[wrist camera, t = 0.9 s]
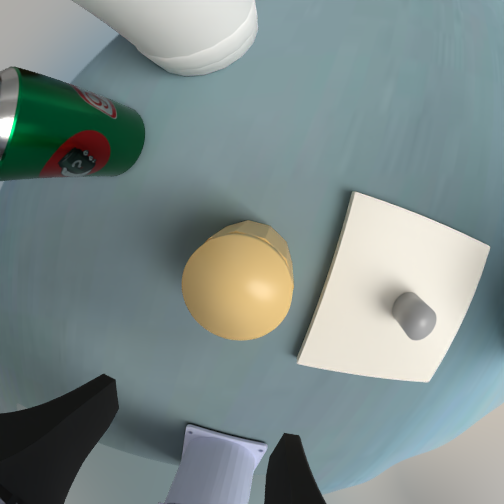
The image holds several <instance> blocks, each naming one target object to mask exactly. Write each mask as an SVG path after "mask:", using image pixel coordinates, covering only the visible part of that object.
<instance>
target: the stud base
mask: <svg viewBox="0 0 504 504" xmlns="http://www.w3.org/2000/svg"><path fill="white" fill-rule="evenodd" d="M489 250H490V246H488V245H486V244H484V243H482V242H480V241H478V240H476V239H474V238H472V237H470V236H467V235H465V234H463V233H461V232H459V231H457V230H454V229H452V228H450V227H448V226H445V225H443V224H441V223H438V222H436V221H433V220H431V219H429V218H426V217H424V216H421V215H419V214H416V213H414V212H411V211H409V210H406V209H403V208H401V207H398V206H395V205H393V204H390V203H387V202H384V201H382V200H379V199H376V198H373V197H370V196H367V195H364V194H361V193H358V192H354V191H352V194H351V198H350V202H349V205H348V209H347V213H346V216H345V220H344V223H343V227H342V230H341V234H340V237H339V240H338V244H337V247H336V250H335V253H334V256H333V260H332V263H331V266H330V269H329V272H328V275H327V278H326V281H325V284H324V287H323V290H322V293H321V295H320V298H319V301H318V304H317V307H316V309H315V312H314V315H313V318H312V320H311V323H310V326H309V328H308V331H307V333H306V336H305V338H304V341H303V344H302V346H301V349H300V351H299V353H298V356H297V364H301V365H305V366H310V367H315V368H321V369H326V370H332V371H337V372H343V373H350V374H356V375H363V376H370V377H378V378H386V379H395V380H405V381H417V382H429V381H430V379H431V378H432V376H433V374H434V373H435V371H436V369H437V368H438V366H439V364H440V363H441V361H442V359H443V358H444V356H445V354H446V352H447V350H448V349H449V347H450V345H451V343H452V341H453V339H454V337H455V335H456V333H457V331H458V329H459V327H460V325H461V323H462V321H463V319H464V317H465V314H466V312H467V310H468V308H469V305H470V303H471V300H472V298H473V296H474V293H475V291H476V288H477V285H478V283H479V280H480V277H481V274H482V271H483V269H484V266H485V263H486V259H487V256H488V253H489Z"/></svg>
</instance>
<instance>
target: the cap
mask: <svg viewBox="0 0 504 504" xmlns="http://www.w3.org/2000/svg"><path fill="white" fill-rule="evenodd" d="M293 288H294V281H293V268H292V261H291V257H290V253H289V249H288V246H287V242H286V241H285V240H284V239H283V238H282V237H281V236H280V235H279V234H278V233H277V232H276V231H275V230H274V229H273V228H272V227H271V226H269V225H265V224H261V223H257V222H253V221H249V220H247V221H243V222H240V223H236V224H233V225H229V226H226V227H225V228H223V229H222V230H220V231H219V232H217V233H216V234H214V235H213V236H211V237H210V238H208V239H207V241H206V242H205V243H204V244H203V245H202V246H201V247H199V248H198V249H197V250H196V251H195V252H194V253H193V254H192V256H191V257H190V258H189V260H188V262H187V264H186V266H185V268H184V272H183V276H182V293H183V298H184V301H185V304H186V306H187V308H188V310H189V311H190V313H191V315H192V316H193V317H194V319H195V320H196V321H197V322H198V323H199V324H200V325H201V326H203V327H204V328H205V329H206V330H208V331H210V332H211V333H213V334H215V335H217V336H220V337H223V338H226V339H231V340H251V339H255V338H258V337H261V336H264V335H266V334H267V333H269V332H271V331H272V330H274V329H275V328H276V327H277V326H278V325H279V324H280V323H281V322H282V321H283V319H284V318H285V316H286V314H287V313H288V310H289V308H290V304H291V300H292V291H293Z"/></svg>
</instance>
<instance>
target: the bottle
mask: <svg viewBox="0 0 504 504" xmlns="http://www.w3.org/2000/svg"><path fill="white" fill-rule="evenodd" d="M72 1H74V2H75V3H77V4H78V5H80V6H81V7H83V8H84V9H86V10H87V11H89V12H90V13H92V14H93V15H95V16H96V17H97V18H99V19H100V20H102V21H103V22H104V23H106V24H107V25H108V26H110V27H111V28H112V29H114V30H115V31H116V32H118V33H119V34H120V35H122V36H123V37H124V38H126V39H127V40H128V41H129V42H131V43H132V44H133V45H135V46H136V48H137V50H138V51H140V52H141V53H142V54H143V55H144V56H146V57H147V58H149V59H150V60H151V61H153V62H154V63H156V64H157V65H158V66H160V67H162V68H163V69H165V70H166V71H167V72H169V73H173V74H177V75H182V76H195V75H206V74H208V73H211V72H214V71H217V70H220V69H223V68H225V67H227V66H228V65H230V64H231V63H233V62H234V61H236V60H238V59H239V58H241V57H242V56H243V55H244V54H245V52H246V51H247V50H248V49H249V48H250V47H251V45H252V44H253V43H254V40H255V37H256V34H257V31H258V23H257V19H258V18H257V11H256V5H255V0H72Z"/></svg>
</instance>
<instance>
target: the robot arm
mask: <svg viewBox="0 0 504 504" xmlns="http://www.w3.org/2000/svg"><path fill="white" fill-rule="evenodd" d="M118 409H119V405H118V398H117V390H116V380H115V379H113V378H111V377H109V376H107V375H105V374H102V375H100V376H99V377H97V378H95V379H93V380H91V381H90V382H88V383H86V384H84V385H82V386H81V387H79V388H77V389H75V390H73V391H71V392H69V393H67V394H65V395H63V396H61V397H58V398H56V399H54V400H51V401H49V402H47V403H44V404H41V405H38V406H35V407H32V408H28V409H25V410H20V411H15V412H10V413H1V414H0V504H64V502H65V499H66V497H67V494H68V492H69V489H70V487H71V485H72V483H73V481H74V479H75V477H76V475H77V473H78V471H79V469H80V467H81V465H82V463H83V462H84V460H85V459H86V457H87V456H88V454H89V453H90V452H91V450H92V449H93V448H94V446H95V445H96V444H97V442H98V441H99V440H100V438H101V437H102V436H103V434H104V433H105V431H106V430H107V429H108V427H109V426H110V424H111V422H112V421H113V419H114V417H115V415H116V413H117V411H118ZM266 450H267V444H265V443H260V442H256V441H251V440H246V439H242V438H238V437H234V436H230V435H226V434H222V433H218V432H215V431H211V430H208V429H204V428H201V427H198V426H195V425H191V424H188V425H187V426H186V431H185V438H184V445H183V452H182V460H181V463H180V465H179V468H178V470H177V473H176V475H175V478H174V480H173V483H172V485H171V487H170V490H169V492H168V495H167V497H166V500H165V503H161V502H159V503H158V504H248V501H249V495H250V490H251V484H252V477H253V471H254V470H255V468H256V467H257V465H258V463H259V462H260V460H261V458H262V457H263V455H264V453H265V452H266ZM264 504H326V502H325V500H324V499H323V497H322V494H321V492H320V490H319V488H318V486H317V484H316V482H315V479H314V477H313V475H312V472H311V470H310V467H309V464H308V461H307V458H306V456H305V452H304V449H303V446H302V442H301V439H300V436H299V435H293V434H287V433H284V434H283V436H282V437H281V439H280V441H279V442H278V444H277V446H276V447H275V449H274V451H273V452H272V454H271V455H270V458H269V463H268V469H267V474H266V485H265V502H264Z"/></svg>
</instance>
